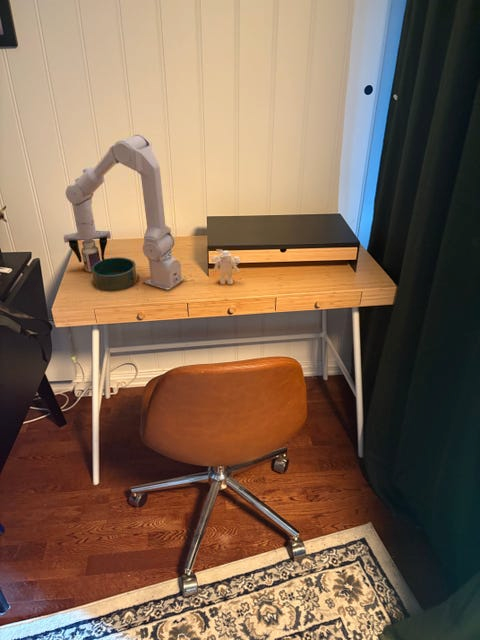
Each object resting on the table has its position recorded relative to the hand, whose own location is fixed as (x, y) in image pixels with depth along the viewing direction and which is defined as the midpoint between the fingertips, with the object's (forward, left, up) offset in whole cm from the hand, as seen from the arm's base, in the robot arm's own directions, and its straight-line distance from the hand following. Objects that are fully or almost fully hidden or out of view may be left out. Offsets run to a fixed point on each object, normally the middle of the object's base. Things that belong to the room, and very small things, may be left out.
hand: (91, 260), depth 158 cm
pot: (-12, +3, -3) cm, 13 cm away
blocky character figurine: (-44, -15, -3) cm, 46 cm away
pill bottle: (0, 0, -3) cm, 3 cm away
